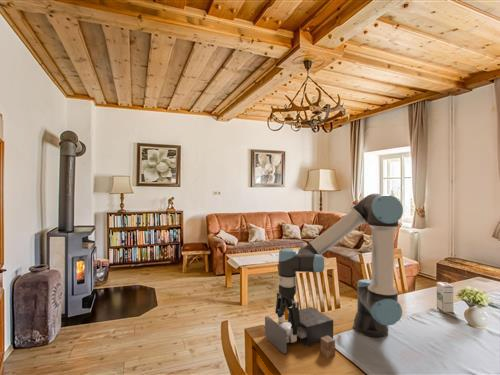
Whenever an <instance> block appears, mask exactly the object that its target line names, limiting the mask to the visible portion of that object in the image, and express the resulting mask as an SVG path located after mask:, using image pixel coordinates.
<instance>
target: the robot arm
mask: <svg viewBox="0 0 500 375" xmlns="http://www.w3.org/2000/svg"><path fill="white" fill-rule="evenodd" d="M403 214H404V207H403V203H402V202H401V200H399V198H397V197H396V196H394V195H392V194H388V193H370V194H368V195H367V196H365V197H364V198H362V199H361V200H359V201H358V202H357V203H356V204H355V205H353V206H352V207H351V209H350V211H349V212H348V213H347V214H346V215H344V216H343V217H342V218H340V219H339V220H337V222H335V223H334V224H332V225H331V226H330V227H329V228H328V229H326V230H325V231H323V232H322V233H321V234H320V235H319V236H317V237H315V239H313V240H312V241H310V242H309V243H308V244H306V245H304V246H301V247H300V248H299V249H298V251H297V250H295V249H294V248H286V247H285V248H281V249H279V252H278V292H277V293H276V303H275V311H274V312H275V314H277V318H278V321H277V322H278V323H277V324H278V325H279V324H280V323H283V322H285V311H286V310H287V311H288V312H287V313H289V316H290V321H291V325H292V326H290V338H289V340H290V342H289V343H296V342H297V340H298V338H297V328H298V327H301V324H300V316H299V310H300V309H299V308H300V307H299V306H300V304H299V303H300V302H298V301H297V302H296V301H295V298H294V297H295V295H296V293H297V273H301V272H302V273H315V274H316V273H323V271H324V270H325V258H324V255H323V254H324V253H326V252H327V251H328V250H330V249H331V248H332V247H333V246H335V245H336V244H337V243H338V242H340V241H341V240H342V239H344V238H345V237H347V236H348V235H349V234H350V233H352V232H353V231H354V230H355V229H357V228H358V227H360V226H361V225H362V224H364V225H366V224H367V225H368V226H369V227H370V229H371V279H369V278H368V279H367V278H365V279H359V280H358V281H357V287H356V288H357V291H356V292H357V294H356V295H357V296H356V297H357V300H356V301H357V311H356V313H355V317H354V319H353V328H354V330H355V331H357V333H359V334H361V335H363V336H368V337H372V338H383V337H386V336H387V335H388V334H389V326H394V325H395V324H396V323H397V322H399V321H400V320H401V319H402V317H403V308H402V306H401V304H400V303H399V302H398V299H399V298H398V293H399V292H398V290H397V289H396V288H395V286H394V282H395V281H394V276H395V275H394V274H395V273H394V270H395V269H394V268H395V267H394V266H395V265H394V264H395V262H394V261H395V257H394V256H395V230H397V229H398V227H399V220H400V219H402V216H403Z"/></svg>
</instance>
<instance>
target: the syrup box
mask: <svg viewBox="0 0 500 375" xmlns="http://www.w3.org/2000/svg"><path fill="white" fill-rule="evenodd" d="M436 308H437V309H438V310H440V311H441V312H443V313H454V308H455V307H454V285H452V284H450V283H448V282H446V281H437V282H436Z"/></svg>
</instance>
